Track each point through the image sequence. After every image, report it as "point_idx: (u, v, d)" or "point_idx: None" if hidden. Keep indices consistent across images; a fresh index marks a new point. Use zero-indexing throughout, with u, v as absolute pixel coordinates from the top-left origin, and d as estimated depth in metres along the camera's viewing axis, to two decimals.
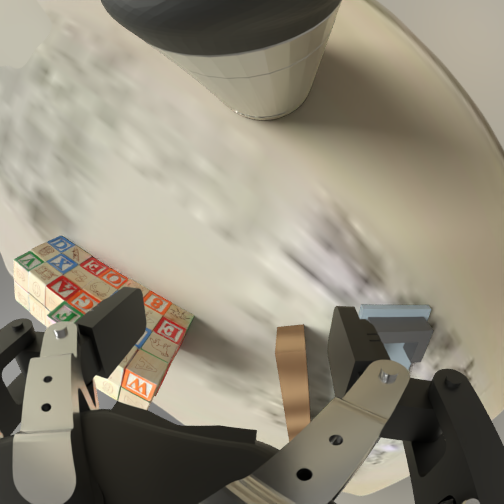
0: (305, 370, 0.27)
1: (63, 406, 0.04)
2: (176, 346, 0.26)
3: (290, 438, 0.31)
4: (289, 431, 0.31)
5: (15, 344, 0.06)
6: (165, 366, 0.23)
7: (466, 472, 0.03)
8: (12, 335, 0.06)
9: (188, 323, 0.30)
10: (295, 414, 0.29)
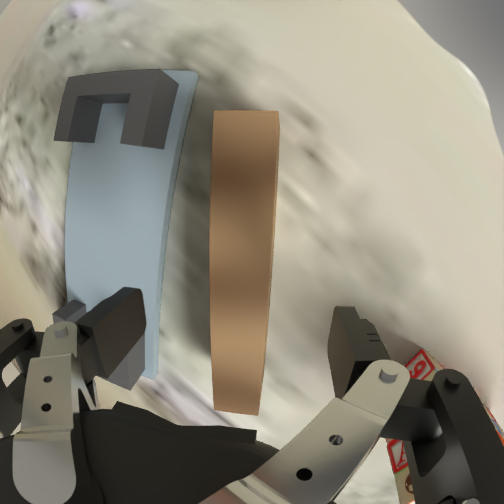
0: (214, 382, 0.16)
1: (63, 406, 0.04)
2: (387, 447, 0.15)
3: (271, 145, 0.12)
4: (269, 187, 0.12)
5: (15, 344, 0.06)
6: (395, 479, 0.12)
7: (466, 472, 0.03)
8: (12, 335, 0.06)
9: None
10: (243, 266, 0.14)
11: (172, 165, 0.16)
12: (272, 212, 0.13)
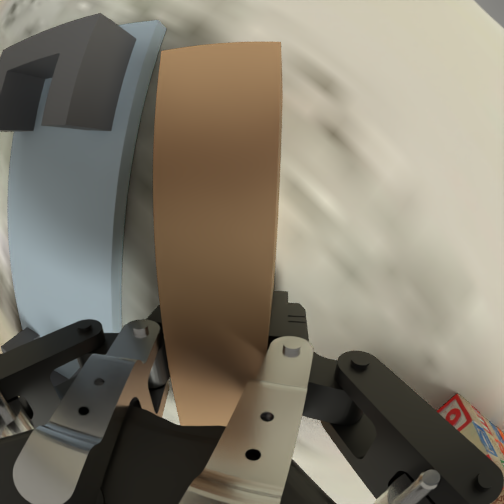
0: None
1: (101, 416, 0.04)
2: None
3: (269, 103, 0.06)
4: (266, 185, 0.06)
5: (75, 347, 0.06)
6: None
7: (409, 448, 0.04)
8: (74, 337, 0.07)
9: None
10: (220, 331, 0.07)
11: (121, 154, 0.10)
12: (272, 236, 0.07)
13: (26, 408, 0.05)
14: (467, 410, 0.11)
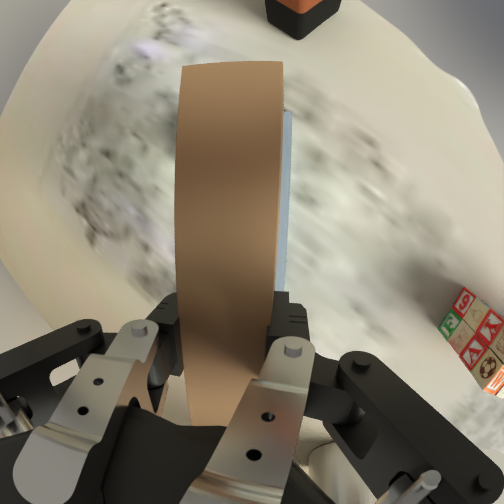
0: None
1: (101, 415, 0.04)
2: (459, 357, 0.21)
3: (273, 113, 0.07)
4: (270, 180, 0.07)
5: (74, 347, 0.06)
6: (472, 374, 0.18)
7: (410, 448, 0.04)
8: (73, 337, 0.07)
9: (444, 337, 0.25)
10: (229, 307, 0.09)
11: None
12: (275, 222, 0.08)
13: (25, 408, 0.05)
14: (472, 293, 0.24)
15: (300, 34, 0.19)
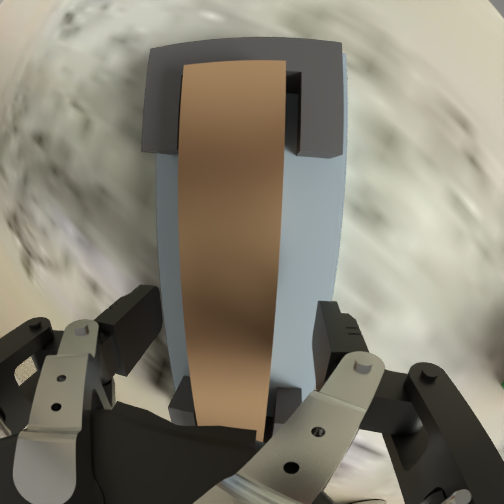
0: None
1: (73, 407, 0.04)
2: None
3: (276, 113, 0.07)
4: (274, 181, 0.07)
5: (31, 343, 0.06)
6: None
7: (452, 464, 0.03)
8: (28, 334, 0.06)
9: None
10: (233, 306, 0.09)
11: None
12: (279, 223, 0.08)
13: None
14: None
15: None
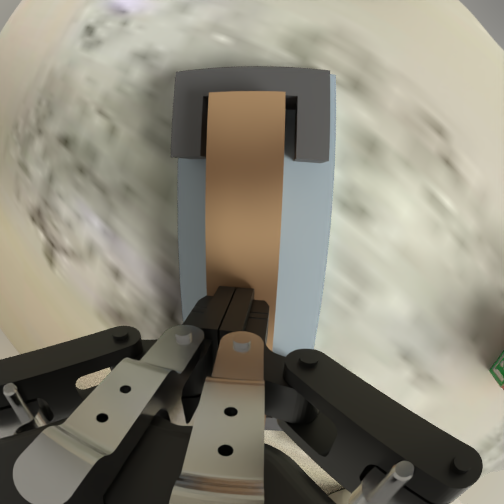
0: None
1: (120, 426, 0.04)
2: None
3: (278, 132, 0.10)
4: (276, 181, 0.10)
5: (106, 357, 0.06)
6: None
7: (375, 442, 0.04)
8: (107, 345, 0.07)
9: (497, 382, 0.16)
10: (246, 275, 0.12)
11: (333, 181, 0.15)
12: (280, 211, 0.11)
13: (48, 409, 0.05)
14: None
15: None
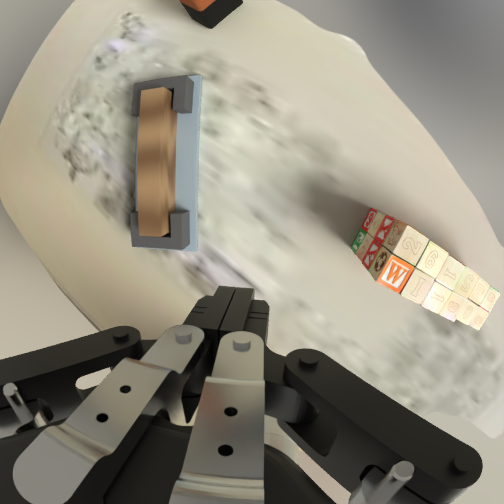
0: (139, 213, 0.31)
1: (119, 426, 0.04)
2: (362, 263, 0.30)
3: (160, 100, 0.27)
4: (159, 115, 0.28)
5: (106, 357, 0.06)
6: (370, 272, 0.27)
7: (375, 442, 0.04)
8: (107, 345, 0.07)
9: (354, 252, 0.34)
10: (150, 147, 0.29)
11: (197, 119, 0.32)
12: (160, 124, 0.28)
13: (47, 409, 0.05)
14: (376, 210, 0.32)
15: (209, 24, 0.28)
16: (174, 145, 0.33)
